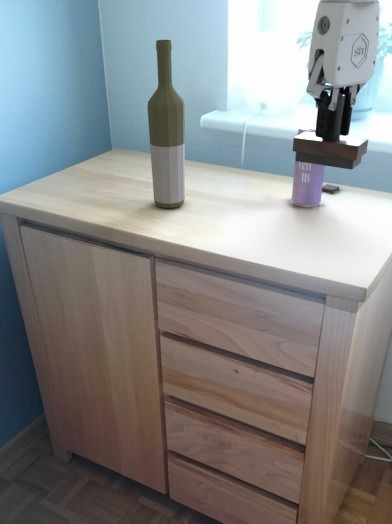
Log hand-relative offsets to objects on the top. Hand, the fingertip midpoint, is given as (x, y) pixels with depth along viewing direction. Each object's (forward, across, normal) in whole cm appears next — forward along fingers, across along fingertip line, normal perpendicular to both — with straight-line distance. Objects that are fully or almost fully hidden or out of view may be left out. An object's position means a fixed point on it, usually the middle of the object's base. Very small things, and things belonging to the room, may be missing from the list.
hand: (331, 134), depth 83 cm
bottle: (+20, -1, +37) cm, 42 cm away
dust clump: (+19, +30, +20) cm, 40 cm away
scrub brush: (+4, 0, 0) cm, 4 cm away
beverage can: (+20, +20, +18) cm, 33 cm away
